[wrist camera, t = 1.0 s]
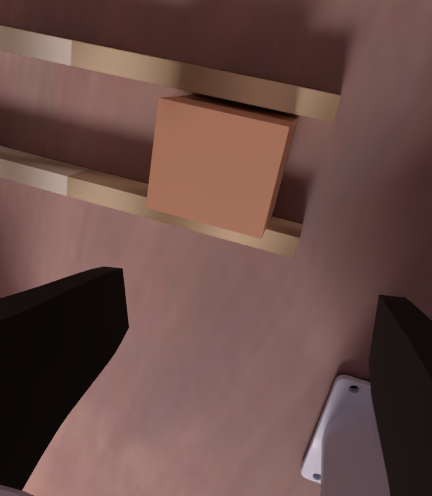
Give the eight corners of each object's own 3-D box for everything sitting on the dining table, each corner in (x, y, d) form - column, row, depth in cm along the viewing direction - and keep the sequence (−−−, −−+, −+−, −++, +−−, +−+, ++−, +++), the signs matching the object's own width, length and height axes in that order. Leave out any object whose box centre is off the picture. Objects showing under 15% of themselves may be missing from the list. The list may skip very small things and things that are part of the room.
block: (297, 118, 18) (289, 126, 14) (273, 211, 20) (261, 238, 16) (191, 95, 19) (158, 97, 15) (177, 186, 21) (145, 207, 17)
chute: (340, 94, 17) (342, 96, 15) (297, 242, 20) (292, 267, 17) (-27, 19, 20) (-81, 9, 18) (-18, 158, 23) (-65, 168, 20)
